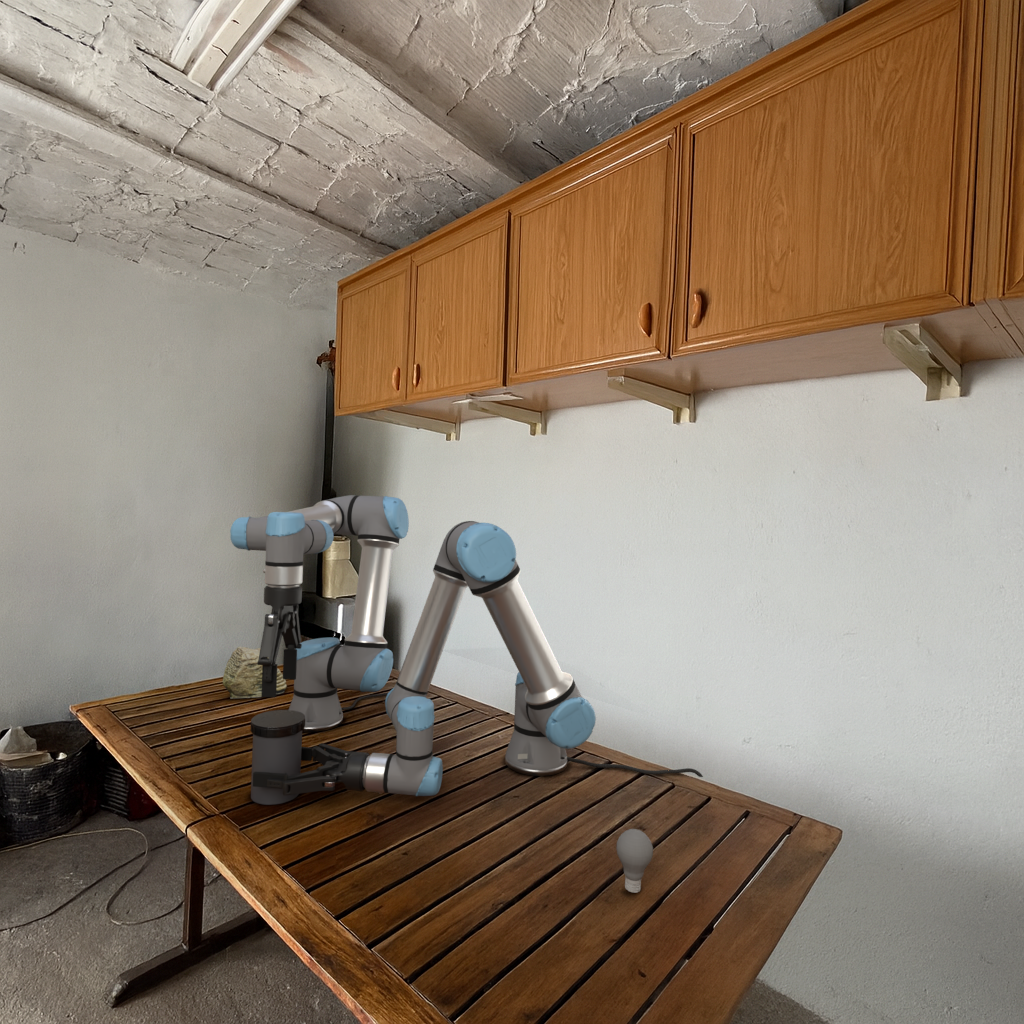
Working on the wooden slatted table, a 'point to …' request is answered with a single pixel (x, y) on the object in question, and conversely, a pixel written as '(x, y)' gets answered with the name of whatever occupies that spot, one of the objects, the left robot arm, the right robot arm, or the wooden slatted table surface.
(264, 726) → the lid
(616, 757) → the wooden slatted table surface
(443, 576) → the right robot arm
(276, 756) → the jar
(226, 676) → the fossil
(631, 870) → the light bulb
